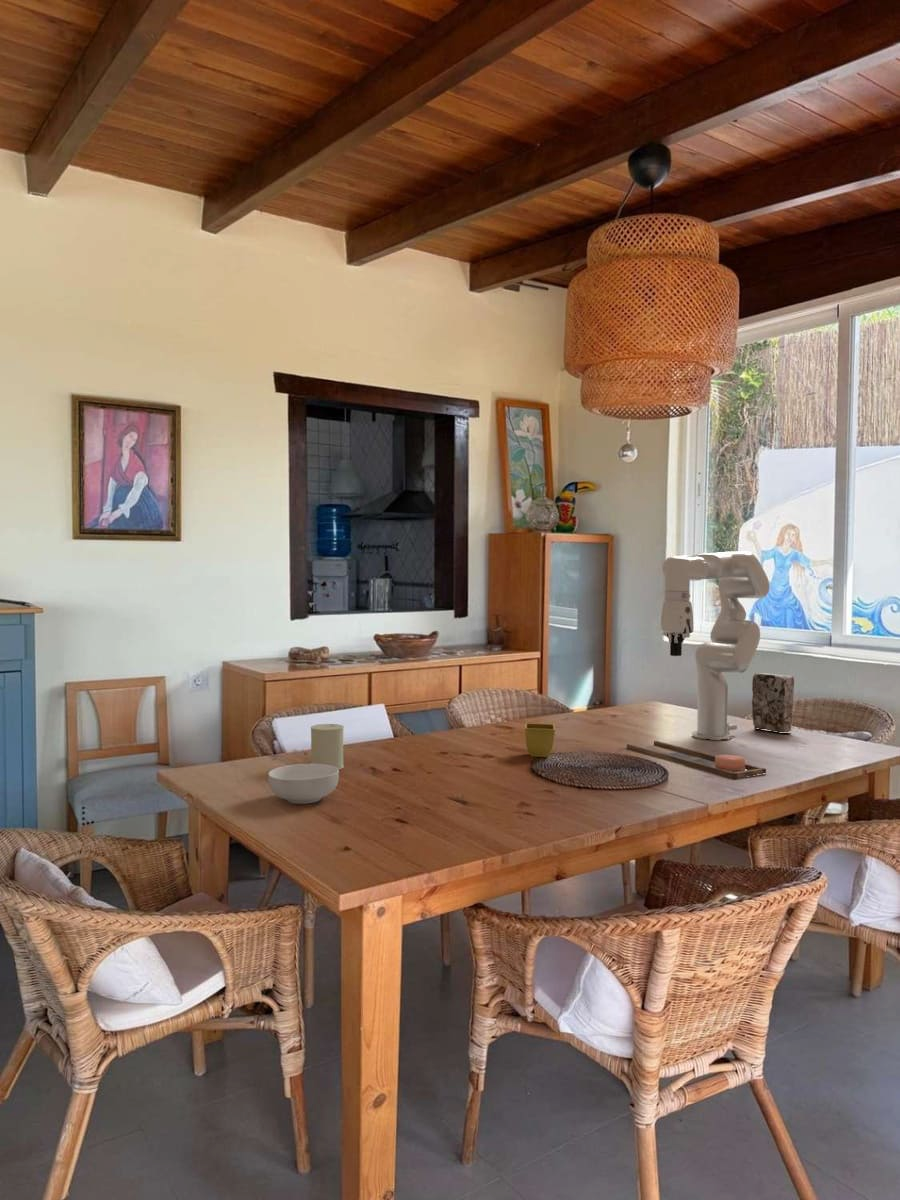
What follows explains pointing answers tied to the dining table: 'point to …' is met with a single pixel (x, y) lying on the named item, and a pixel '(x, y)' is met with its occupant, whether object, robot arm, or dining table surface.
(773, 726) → the stone block
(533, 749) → the flower pot
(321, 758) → the can
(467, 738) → the dining table surface
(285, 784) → the cereal bowl
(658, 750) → the trap lane
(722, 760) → the salmon rounded disc
